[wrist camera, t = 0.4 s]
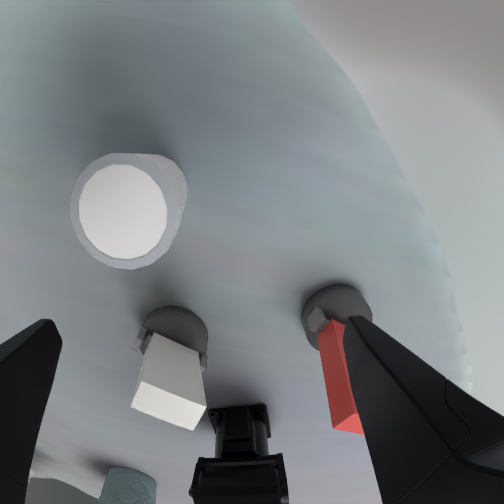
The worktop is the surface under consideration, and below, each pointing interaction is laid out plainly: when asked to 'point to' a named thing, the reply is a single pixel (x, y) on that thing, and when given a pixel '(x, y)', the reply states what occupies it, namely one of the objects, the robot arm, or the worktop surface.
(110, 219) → the shot glass
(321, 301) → the dark rounded piece
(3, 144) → the worktop surface
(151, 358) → the block
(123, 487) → the grey green cup
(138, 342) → the grey switch base
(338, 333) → the block
